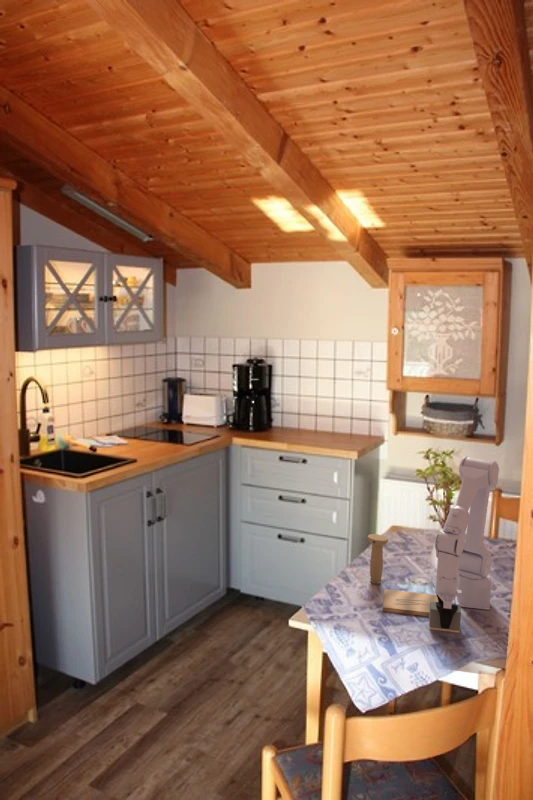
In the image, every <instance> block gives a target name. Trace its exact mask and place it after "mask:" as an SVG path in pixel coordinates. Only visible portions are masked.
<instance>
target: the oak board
mask: <svg viewBox="0 0 533 800" xmlns="http://www.w3.org/2000/svg"><path fill="white" fill-rule="evenodd" d="M383 591H384V592H383V602H382V612H387V611H388V613H396V614H406V615H415V616H423V617H429V613H430V601H431V602H438V598H437V595H436V594H434V593H433V594H430V593H423V592H422V593H421V592H415V591H405V590H395V589H385V588H384V590H383Z"/></svg>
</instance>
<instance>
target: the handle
mask: <svg viewBox="0 0 533 800" xmlns="http://www.w3.org/2000/svg"><path fill="white" fill-rule="evenodd" d="M367 541H368V542H369V543H370V544H371V556H370V564H369V574H370V582H371V583H372V584H374V585H378V584H381V583H382V576H383V571H384V570H383V569H384V567H383V566H384V558H383V557H384V556H383V554H384V553H383V552H384V551H383V548H384V545H386V544H388V543H389V537H387V536H385V535H382V534H377V533H371V534H368V535H367Z"/></svg>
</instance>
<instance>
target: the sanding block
mask: <svg viewBox="0 0 533 800" xmlns="http://www.w3.org/2000/svg"><path fill="white" fill-rule="evenodd" d="M452 605H456V606H458V609H457V611H456V613H455V614H454V616H453V618H452V621H451V625H450V628H449V629H444V628H441V624H440V616H439V612H438V610H437V607H436V602H431V601H430V613H429V616H428V625H429V627H428V629H429V630H436V631H443V632H449V633H450V632H452V633H461V632H460V631H461V630H460V629H461V620H462V619H461V618H462V616H461V615H462V609H461V607H460V605H458V604H456V603H452Z"/></svg>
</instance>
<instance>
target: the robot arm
mask: <svg viewBox="0 0 533 800" xmlns="http://www.w3.org/2000/svg"><path fill="white" fill-rule="evenodd" d="M458 472H459V477H460V478H459V479H460V481H461V483H460V484H461V485H460V488H459V492H458V496H457V498H456V499H457V500H456V504H455V506H454V507H451V508H450V509H449V512H448V514H447V517H446V520H445V523H444V525H443V528H442V531H439V532H438V533H437V534H436V537H435V542H434V549H435V557H436V558H437V564H436V580H435V587H434V593H435V595H437V598H438V602H436V607H437V610H438V612H439V616H440V624H441V628H444V629H449V628H450V625H451V621H452V618H453V616H454V614H455V613H456V611H457V609H458V606H456V605H452V604H453V602H455V604H458V605H460V608H470V609H477V610H478V609H479V610H487V611H489V610H490V609H491V608H490V605H491V591H492V580H491V579H492V578H491V575H489V574H490V571H491V567H492V551H491V550H490V549H489V548H488V547H487V545H485V543H484V536H485V535H484V534H485V528H486V520H487V513H488V506H489V498H490V495H491V494H490V493H491V490H493V489H496V488H497V484H498V480H499V473H500V467H499V464H498V462H497V461H495V460H488V459H481V458H476V457H468V456H467V455H466V456H463V458H461V460H460V463H459V467H458ZM454 600H455V601H454Z"/></svg>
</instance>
